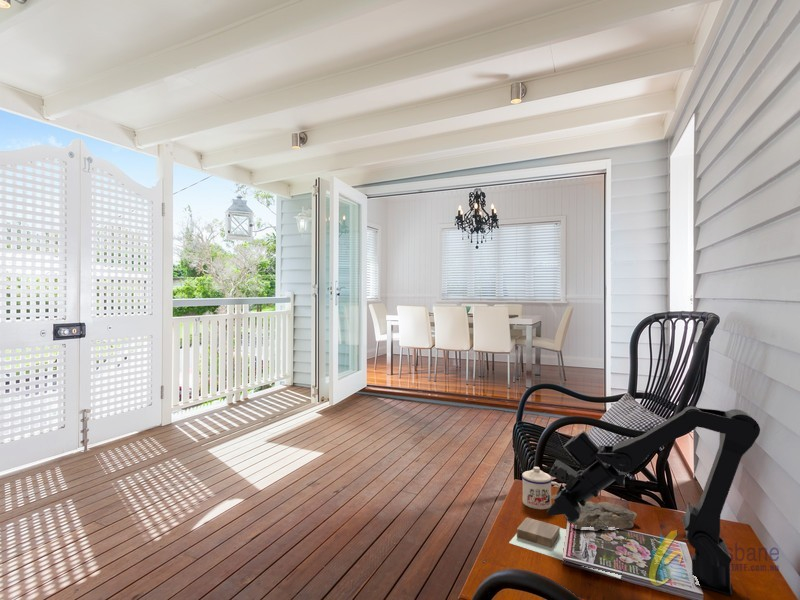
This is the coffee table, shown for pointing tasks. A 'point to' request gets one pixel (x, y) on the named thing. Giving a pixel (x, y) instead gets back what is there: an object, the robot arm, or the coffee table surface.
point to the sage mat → (551, 549)
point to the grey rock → (605, 515)
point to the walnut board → (538, 532)
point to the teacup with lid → (537, 489)
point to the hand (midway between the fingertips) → (548, 513)
